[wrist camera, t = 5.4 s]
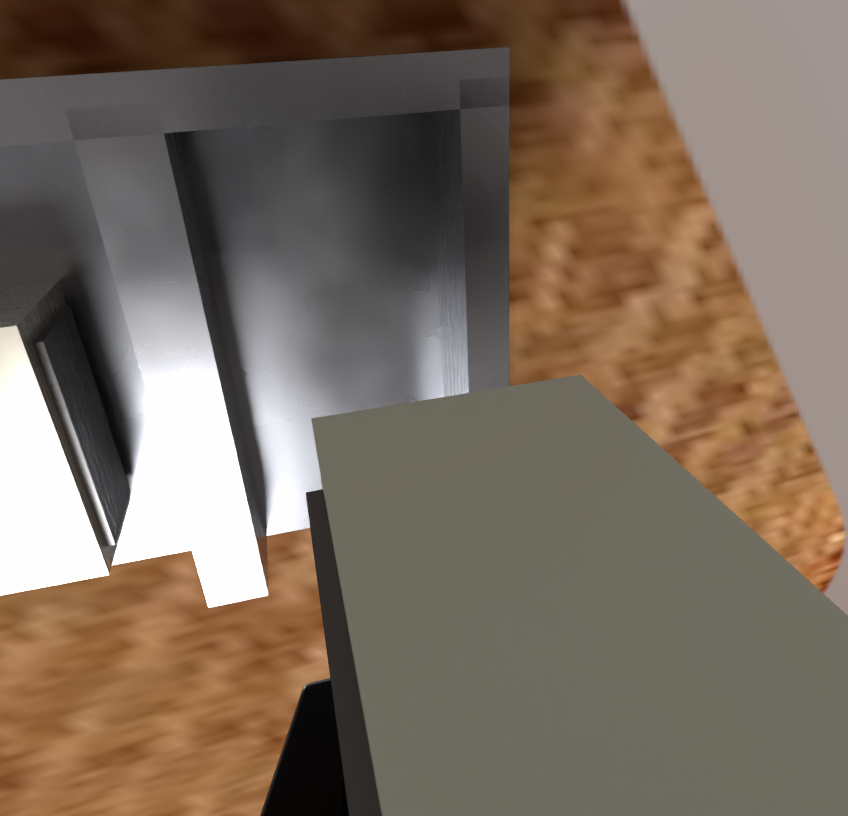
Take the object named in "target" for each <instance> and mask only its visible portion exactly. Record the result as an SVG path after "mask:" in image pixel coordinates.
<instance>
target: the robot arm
mask: <svg viewBox="0 0 848 816" xmlns="http://www.w3.org/2000/svg"><path fill="white" fill-rule="evenodd" d="M260 816H349V811H348V804H347V796H346V789H345V781H344V774H343V766H342V759H341V752H340V744H339V737H338V729H337V722H336V715H335V707H334V700H333V692H332V685H331V678H329V679H325V680H321V681H316V682H312V683H309V684H307V685H306V686H305V687H304V688H303V690H302V692H301V695H300V698H299V701H298V704H297V707H296V710H295V713H294V716H293V719H292V722H291V725H290V728H289V731H288V734H287V737H286V740H285V743H284V746H283V749H282V752H281V755H280V758H279V761H278V764H277V767H276V770H275V773H274V776H273V779H272V782H271V785H270V788H269V791H268V794H267V797H266V800H265V803H264V806H263V809H262V812H261V815H260Z"/></svg>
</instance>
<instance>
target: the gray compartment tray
mask: <svg viewBox="0 0 848 816" xmlns="http://www.w3.org/2000/svg"><path fill="white" fill-rule="evenodd" d="M508 386H509V47H505V48H489V49H473V50H458V51H442V52H426V53H410V54H395V55H379V56H363V57H348V58H332V59H316V60H301V61H285V62H269V63H253V64H238V65H222V66H206V67H191V68H175V69H159V70H144V71H128V72H112V73H96V74H81V75H65V76H49V77H34V78H18V79H2V80H0V596H1V595H6V594H12V593H17V592H22V591H27V590H32V589H37V588H43V587H48V586H53V585H58V584H63V583H69V582H74V581H79V580H84V579H89V578H94V577H100V576H105V575H109V573H110V570H111V566H112V565H117V564H122V563H127V562H132V561H138V560H143V559H148V558H153V557H159V556H164V555H169V554H174V553H179V552H185V551H190V550H192V553H193V556H194V560H195V563H196V566H197V570H198V573H199V577H200V580H201V584H202V587H203V591H204V594H205V598H206V601H207V605H208V608H210V607H215V606H220V605H225V604H230V603H234V602H239V601H244V600H249V599H254V598H259V597H263V596H268V595H269V593H268V565H267V537H266V536H269V535H274V534H279V533H284V532H290V531H295V530H300V529H305V528H310V522H309V515H308V507H307V500H306V492H310V491H316V490H321V489H322V483H321V477H320V470H319V464H318V458H317V451H316V445H315V439H314V433H313V426H312V420H311V418H317V417H323V416H329V415H336V414H342V413H348V412H354V411H360V410H366V409H373V408H379V407H385V406H391V405H397V404H403V403H410V402H416V401H422V400H428V399H434V398H440V397H447V396H453V395H459V394H465V393H471V392H477V391H484V390H490V389H496V388H502V387H508Z"/></svg>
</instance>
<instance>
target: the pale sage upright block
mask: <svg viewBox="0 0 848 816" xmlns="http://www.w3.org/2000/svg"><path fill="white" fill-rule="evenodd" d="M311 420H312V426H313V433H314V439H315V445H316V451H317V458H318V464H319V470H320V477H321V483H322V489H321V490H316V491H310V492H306V500H307V507H308V515H309V522H310V529H311V537H312V544H313V552H314V559H315V566H316V574H317V581H318V589H319V596H320V603H321V611H322V618H323V626H324V633H325V641H326V648H327V655H328V663H329V670H330V678H331V685H332V692H333V700H334V707H335V715H336V722H337V729H338V737H339V744H340V752H341V759H342V766H343V774H344V781H345V789H346V796H347V804H348V811H349V816H848V616H847V615H846V614H845V613H844V612H843V611H842V610H841V609H839V607H837V606H836V605H835V604H834V603H833V602H832V601H831V600H830V599H829V598H827V597H826V596H825V595H824V594H823V593H822V592H821V591H820V590H819V589H818V588H816V587H815V586H814V585H813V584H812V583H811V582H810V581H809V580H808V579H806V578H805V577H804V576H803V575H802V574H801V573H800V572H799V571H798V570H796V569H795V568H794V567H793V566H792V565H791V564H790V563H789V562H788V561H786V560H785V559H784V558H783V557H782V556H781V555H780V554H779V553H778V552H777V551H775V550H774V549H773V548H772V547H771V546H770V545H769V544H768V543H767V542H765V541H764V540H763V539H762V538H761V537H760V536H759V535H758V534H757V533H755V532H754V531H753V530H752V529H751V528H750V527H749V526H748V525H747V524H745V523H744V522H743V521H742V520H741V519H740V518H739V517H738V516H737V515H736V514H734V513H733V512H732V511H731V510H730V509H729V508H728V507H727V506H726V505H724V504H723V503H722V502H721V501H720V500H719V499H718V498H717V497H716V496H714V495H713V494H712V493H711V492H710V491H709V490H708V489H707V488H706V487H704V486H703V485H702V484H701V483H700V482H699V481H698V480H697V479H696V478H695V477H693V476H692V475H691V474H690V473H689V472H688V471H687V470H686V469H685V468H683V467H682V466H681V465H680V464H679V463H678V462H677V461H676V460H675V459H673V458H672V457H671V456H670V455H669V454H668V453H667V452H666V451H665V450H663V449H662V448H661V447H660V446H659V445H658V444H657V443H656V442H655V441H654V440H652V439H651V438H650V437H649V436H648V435H647V434H646V433H645V432H644V431H642V430H641V429H640V428H639V427H638V426H637V425H636V424H635V423H634V422H632V421H631V420H630V419H629V418H628V417H627V416H626V415H625V414H624V413H622V412H621V411H620V410H619V409H618V408H617V407H616V406H615V405H614V404H613V403H611V402H610V401H609V400H608V399H607V398H606V397H605V396H604V395H603V394H601V393H600V392H599V391H598V390H597V389H596V388H595V387H594V386H593V385H591V384H590V383H589V382H588V381H587V380H586V379H585V378H584V377H583V376H581V375H576V376H570V377H564V378H558V379H551V380H545V381H539V382H533V383H527V384H521V385H514V386H508V387H502V388H496V389H490V390H484V391H477V392H471V393H465V394H459V395H453V396H447V397H440V398H434V399H428V400H422V401H416V402H410V403H403V404H397V405H391V406H385V407H379V408H373V409H366V410H360V411H354V412H348V413H342V414H336V415H329V416H323V417H317V418H311Z"/></svg>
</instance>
